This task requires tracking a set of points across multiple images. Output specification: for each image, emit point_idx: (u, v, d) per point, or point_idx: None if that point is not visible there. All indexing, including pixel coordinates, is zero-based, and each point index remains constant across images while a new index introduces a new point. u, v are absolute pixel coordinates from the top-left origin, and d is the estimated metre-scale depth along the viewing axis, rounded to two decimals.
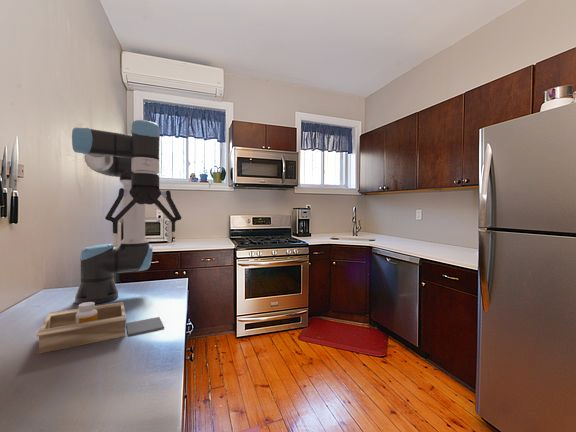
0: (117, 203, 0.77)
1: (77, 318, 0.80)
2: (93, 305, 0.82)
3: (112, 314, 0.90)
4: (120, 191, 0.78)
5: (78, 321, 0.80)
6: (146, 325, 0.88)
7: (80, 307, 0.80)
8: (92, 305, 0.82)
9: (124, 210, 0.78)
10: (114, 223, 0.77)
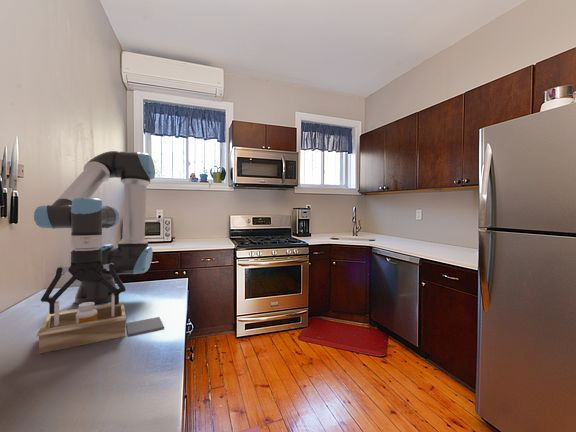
0: (54, 283, 0.77)
1: (77, 318, 0.80)
2: (93, 305, 0.82)
3: None
4: (57, 271, 0.77)
5: (78, 321, 0.80)
6: (146, 325, 0.88)
7: (80, 307, 0.80)
8: (92, 305, 0.82)
9: (62, 289, 0.78)
10: (51, 303, 0.77)
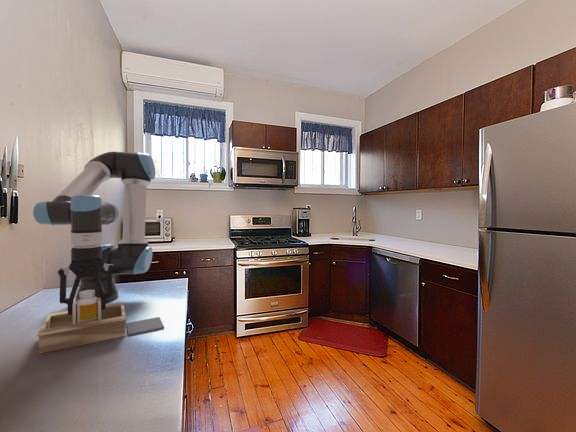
0: (63, 284, 0.78)
1: (78, 305, 0.80)
2: (94, 293, 0.83)
3: (112, 314, 0.90)
4: (59, 273, 0.78)
5: (79, 308, 0.80)
6: (146, 325, 0.88)
7: (81, 294, 0.81)
8: (93, 293, 0.82)
9: (73, 290, 0.80)
10: (69, 305, 0.80)
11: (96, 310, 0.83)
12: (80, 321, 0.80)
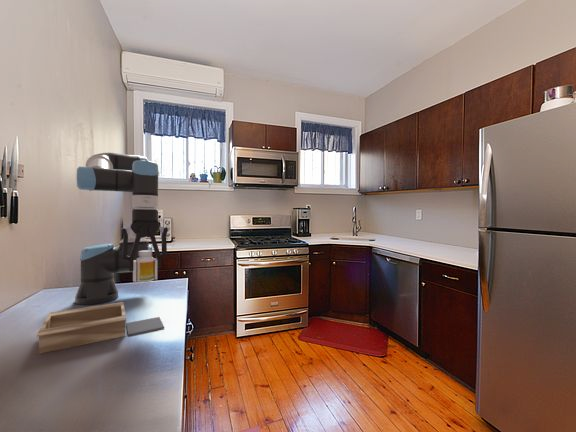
0: (126, 242, 0.85)
1: (138, 262, 0.86)
2: (151, 252, 0.89)
3: (112, 314, 0.90)
4: (123, 231, 0.84)
5: (139, 265, 0.86)
6: (146, 325, 0.88)
7: (140, 253, 0.87)
8: (150, 252, 0.89)
9: (134, 248, 0.86)
10: (130, 262, 0.86)
11: (153, 268, 0.89)
12: (140, 277, 0.86)
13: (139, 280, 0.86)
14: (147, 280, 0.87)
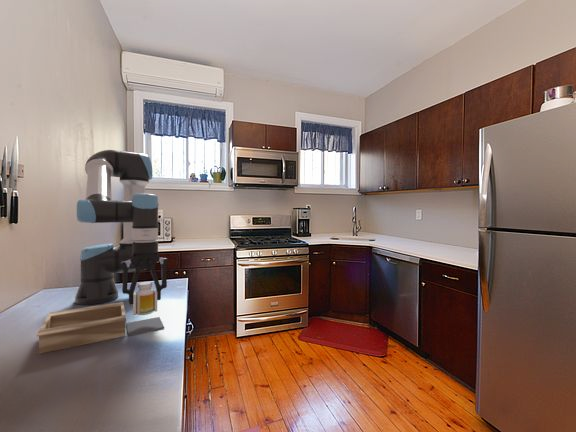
0: (126, 276, 0.85)
1: (138, 296, 0.86)
2: (151, 284, 0.89)
3: (112, 314, 0.90)
4: (123, 265, 0.84)
5: (139, 298, 0.86)
6: (146, 325, 0.88)
7: (140, 286, 0.87)
8: (150, 284, 0.89)
9: (134, 281, 0.86)
10: (130, 295, 0.86)
11: (153, 300, 0.89)
12: (140, 310, 0.86)
13: (138, 314, 0.86)
14: (147, 313, 0.87)
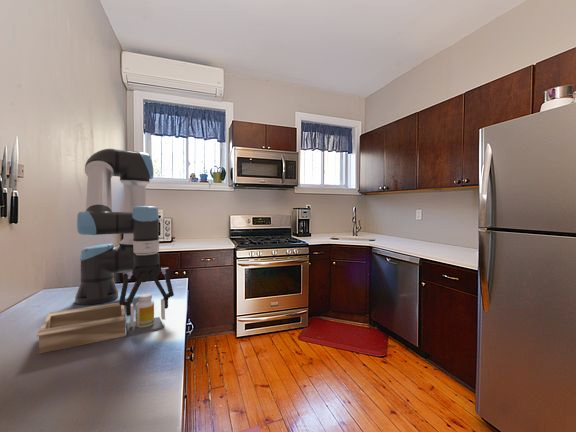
0: (125, 288, 0.85)
1: (138, 308, 0.87)
2: (151, 296, 0.89)
3: (112, 314, 0.90)
4: (124, 277, 0.85)
5: (139, 311, 0.87)
6: None
7: (140, 298, 0.87)
8: (150, 296, 0.89)
9: (133, 293, 0.86)
10: (127, 306, 0.86)
11: (153, 312, 0.89)
12: (140, 322, 0.87)
13: (138, 326, 0.87)
14: (147, 325, 0.87)
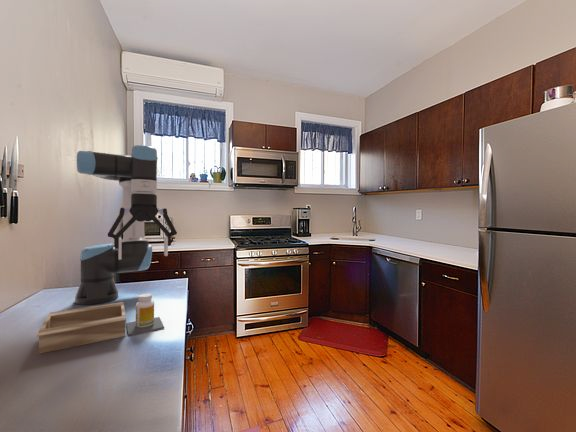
0: (118, 221, 0.85)
1: (138, 308, 0.87)
2: (151, 296, 0.89)
3: (112, 314, 0.90)
4: (121, 210, 0.86)
5: (139, 311, 0.87)
6: None
7: (140, 298, 0.87)
8: (150, 296, 0.89)
9: (124, 227, 0.86)
10: (115, 239, 0.85)
11: (153, 312, 0.89)
12: (140, 322, 0.87)
13: (138, 326, 0.87)
14: (147, 325, 0.87)
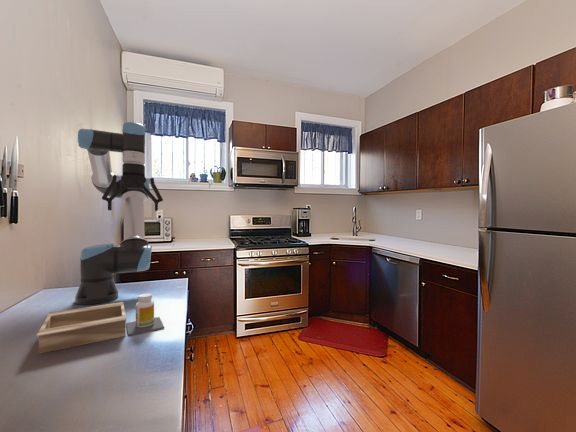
0: (111, 186, 0.99)
1: (138, 308, 0.87)
2: (151, 296, 0.89)
3: (112, 314, 0.90)
4: (113, 177, 1.00)
5: (139, 311, 0.87)
6: None
7: (140, 298, 0.87)
8: (150, 296, 0.89)
9: (116, 192, 1.00)
10: (109, 202, 0.99)
11: (153, 312, 0.89)
12: (140, 322, 0.87)
13: (138, 326, 0.87)
14: (147, 325, 0.87)
